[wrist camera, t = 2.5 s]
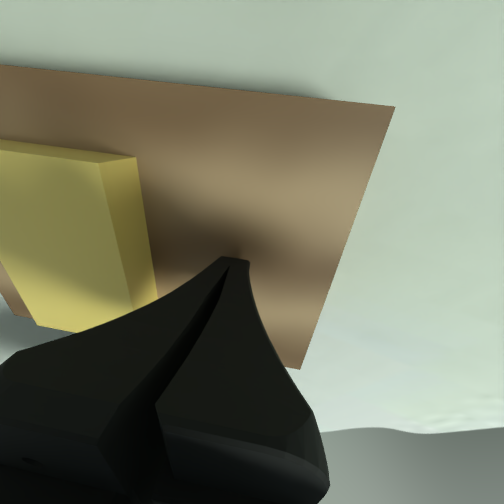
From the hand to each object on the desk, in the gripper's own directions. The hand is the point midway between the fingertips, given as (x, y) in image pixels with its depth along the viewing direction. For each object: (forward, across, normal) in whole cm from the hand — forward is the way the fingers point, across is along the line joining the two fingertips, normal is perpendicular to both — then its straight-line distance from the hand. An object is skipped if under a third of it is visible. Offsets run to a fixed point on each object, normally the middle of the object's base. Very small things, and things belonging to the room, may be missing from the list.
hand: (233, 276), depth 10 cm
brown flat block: (+5, +5, 0) cm, 7 cm away
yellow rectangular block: (+1, +7, 0) cm, 7 cm away
